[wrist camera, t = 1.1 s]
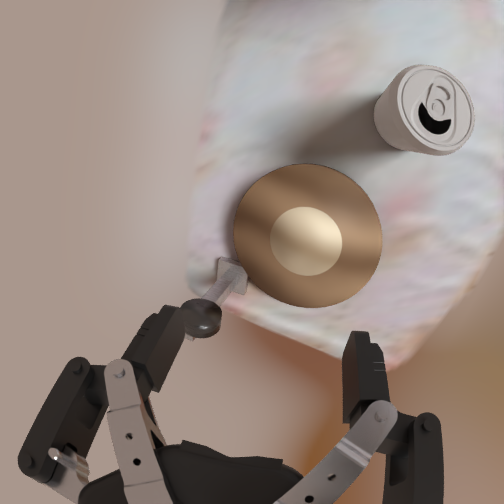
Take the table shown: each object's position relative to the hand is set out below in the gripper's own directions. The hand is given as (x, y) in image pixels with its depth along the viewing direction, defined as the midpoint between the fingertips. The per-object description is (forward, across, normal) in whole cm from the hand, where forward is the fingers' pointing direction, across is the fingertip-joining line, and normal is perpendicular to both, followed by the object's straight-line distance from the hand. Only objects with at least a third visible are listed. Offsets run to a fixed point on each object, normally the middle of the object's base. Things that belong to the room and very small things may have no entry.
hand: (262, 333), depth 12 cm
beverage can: (+20, -11, -10) cm, 25 cm away
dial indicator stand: (+20, +6, +12) cm, 24 cm away
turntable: (+18, -2, +4) cm, 18 cm away
